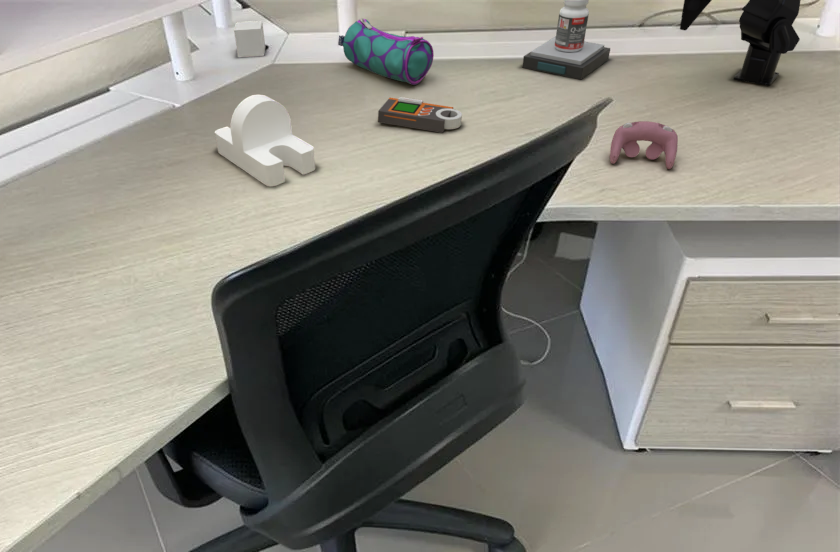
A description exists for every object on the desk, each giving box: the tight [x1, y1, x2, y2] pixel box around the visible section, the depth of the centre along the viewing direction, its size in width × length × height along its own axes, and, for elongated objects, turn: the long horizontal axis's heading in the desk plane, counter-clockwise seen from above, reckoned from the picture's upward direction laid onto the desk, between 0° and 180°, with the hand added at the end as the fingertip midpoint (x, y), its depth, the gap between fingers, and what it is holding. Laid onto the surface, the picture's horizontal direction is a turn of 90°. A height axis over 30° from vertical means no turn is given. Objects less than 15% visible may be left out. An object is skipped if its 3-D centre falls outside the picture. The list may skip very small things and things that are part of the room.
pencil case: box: [337, 17, 435, 86], centre depth 145 cm, size 21×9×10 cm, turn 40°
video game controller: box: [609, 120, 679, 170], centre depth 112 cm, size 10×5×7 cm, turn 71°
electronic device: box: [377, 96, 463, 133], centre depth 128 cm, size 7×3×15 cm
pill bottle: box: [555, 0, 590, 52], centre depth 141 cm, size 6×6×10 cm
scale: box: [521, 35, 611, 81], centre depth 146 cm, size 13×13×3 cm
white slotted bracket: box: [214, 94, 316, 187], centre depth 117 cm, size 10×18×11 cm, turn 37°
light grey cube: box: [233, 20, 266, 58], centre depth 161 cm, size 6×6×6 cm
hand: (683, 24), depth 125 cm, fingers open, 9 cm apart
